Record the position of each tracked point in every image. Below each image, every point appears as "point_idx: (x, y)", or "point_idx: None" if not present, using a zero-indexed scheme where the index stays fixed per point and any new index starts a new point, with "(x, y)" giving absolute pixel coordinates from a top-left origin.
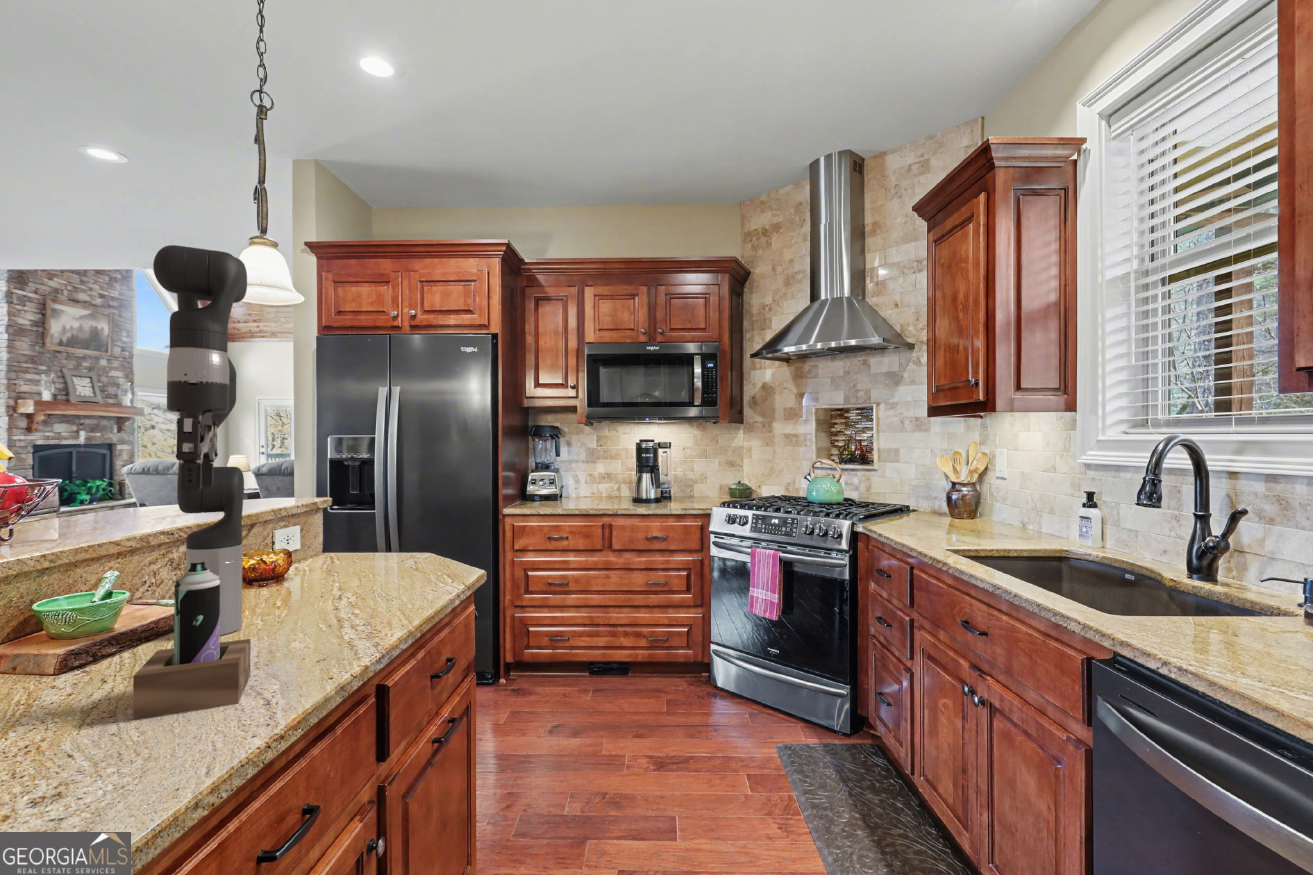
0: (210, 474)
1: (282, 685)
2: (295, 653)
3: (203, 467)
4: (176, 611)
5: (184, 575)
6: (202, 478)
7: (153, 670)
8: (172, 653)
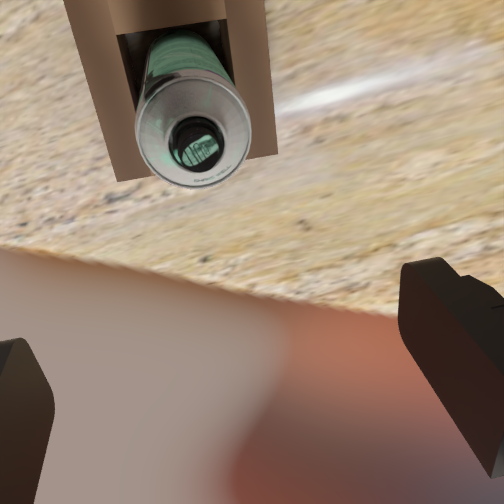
0: (441, 387)
1: (193, 197)
2: (365, 173)
3: (480, 402)
4: (150, 74)
5: (178, 109)
6: (429, 329)
7: (93, 27)
8: (218, 18)
